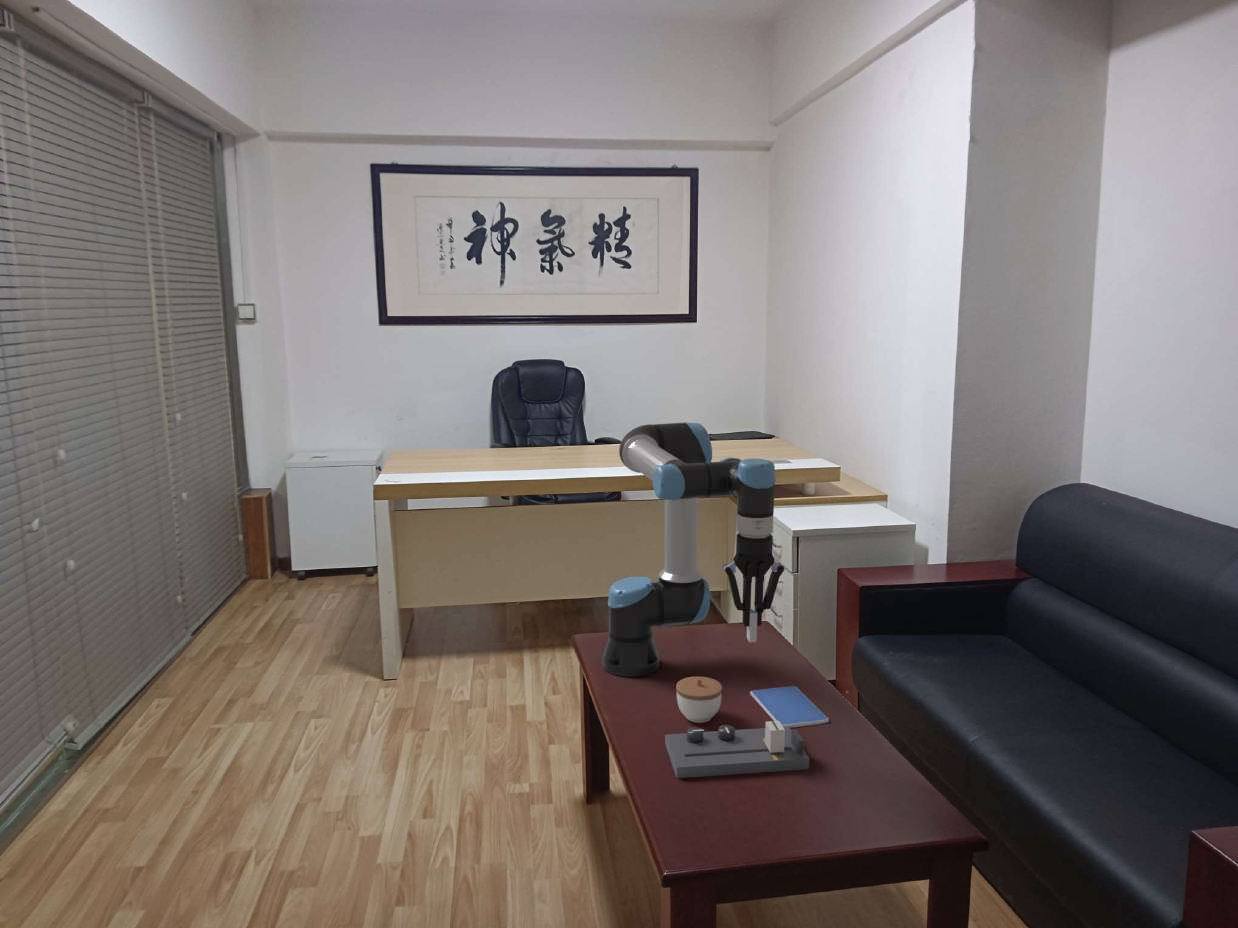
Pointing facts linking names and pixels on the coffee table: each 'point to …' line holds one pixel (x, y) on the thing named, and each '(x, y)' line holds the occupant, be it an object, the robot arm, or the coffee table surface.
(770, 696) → the tablet computer
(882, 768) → the coffee table surface
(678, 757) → the console
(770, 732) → the fader tab
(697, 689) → the lidded jar
